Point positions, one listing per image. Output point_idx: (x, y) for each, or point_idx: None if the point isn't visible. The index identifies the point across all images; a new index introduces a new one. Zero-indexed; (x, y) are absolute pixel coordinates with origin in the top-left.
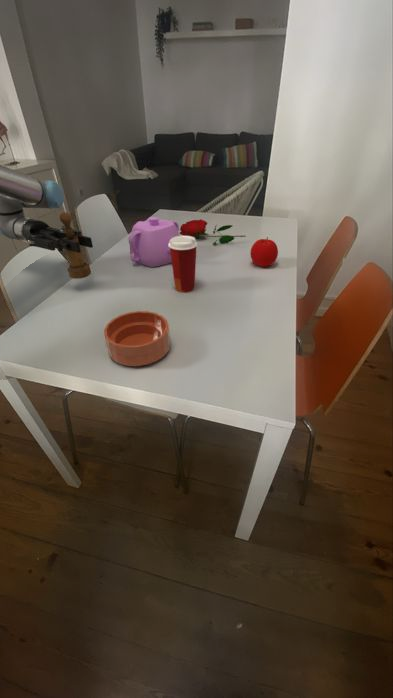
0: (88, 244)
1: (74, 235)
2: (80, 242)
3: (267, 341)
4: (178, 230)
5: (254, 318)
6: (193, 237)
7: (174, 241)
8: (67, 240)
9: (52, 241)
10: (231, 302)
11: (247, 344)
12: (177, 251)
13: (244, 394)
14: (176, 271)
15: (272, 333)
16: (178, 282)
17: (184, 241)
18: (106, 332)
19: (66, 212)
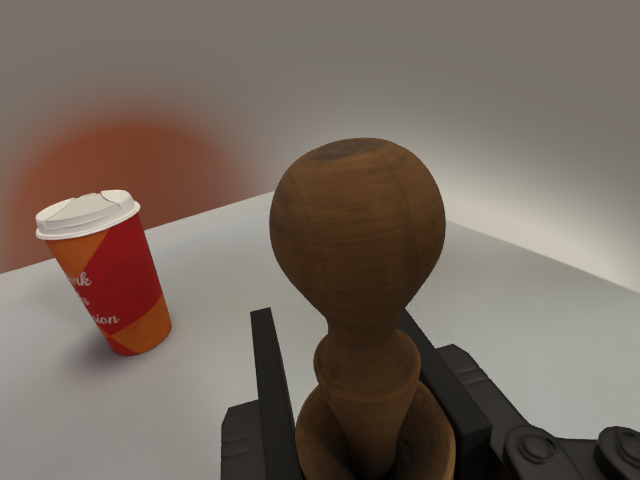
0: (281, 357)
1: (300, 476)
2: None
3: (246, 209)
4: None
5: (203, 231)
6: (53, 205)
7: (108, 203)
8: (427, 350)
9: (605, 433)
10: (169, 261)
11: (266, 211)
12: (138, 214)
13: None
14: (154, 276)
15: (226, 213)
16: (164, 303)
17: (99, 197)
18: None
19: (308, 157)
